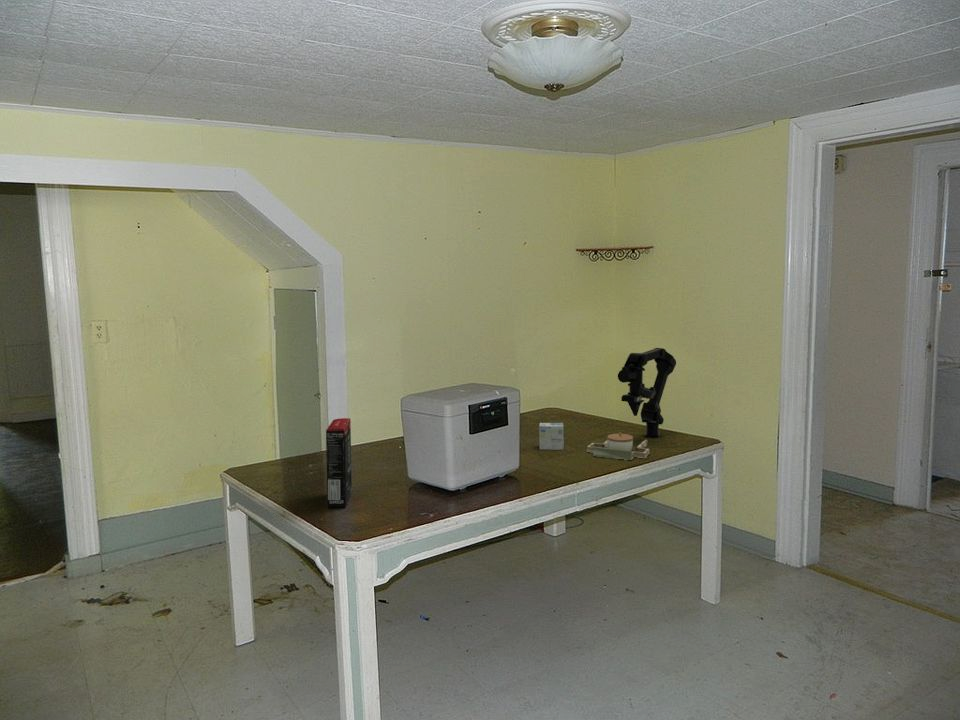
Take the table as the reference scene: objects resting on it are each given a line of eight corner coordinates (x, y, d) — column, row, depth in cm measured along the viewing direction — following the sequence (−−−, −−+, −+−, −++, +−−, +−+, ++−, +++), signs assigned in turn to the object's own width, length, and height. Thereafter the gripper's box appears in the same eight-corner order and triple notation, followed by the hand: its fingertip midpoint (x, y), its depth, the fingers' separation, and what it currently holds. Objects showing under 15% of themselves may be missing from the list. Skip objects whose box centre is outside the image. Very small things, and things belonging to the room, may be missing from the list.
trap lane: (602, 440, 324) (602, 431, 323) (657, 446, 313) (657, 437, 312) (583, 455, 299) (583, 446, 299) (641, 462, 288) (642, 452, 288)
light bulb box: (563, 446, 315) (563, 422, 313) (563, 450, 308) (563, 425, 307) (539, 445, 316) (539, 422, 314) (539, 449, 309) (539, 425, 308)
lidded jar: (628, 450, 306) (629, 429, 305) (636, 457, 295) (636, 435, 294) (604, 451, 305) (604, 430, 304) (610, 458, 295) (611, 436, 293)
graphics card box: (334, 492, 253) (331, 418, 250) (353, 492, 254) (351, 417, 250) (327, 509, 236) (323, 429, 233) (348, 508, 237) (345, 428, 233)
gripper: (645, 383, 306) (644, 419, 307) (660, 380, 321) (660, 414, 322) (621, 382, 312) (620, 417, 313) (637, 379, 327) (637, 412, 328)
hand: (635, 415), depth 319 cm, fingers closed
